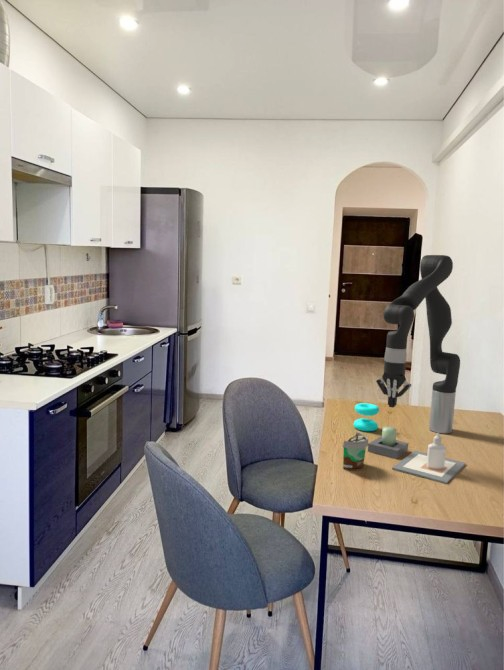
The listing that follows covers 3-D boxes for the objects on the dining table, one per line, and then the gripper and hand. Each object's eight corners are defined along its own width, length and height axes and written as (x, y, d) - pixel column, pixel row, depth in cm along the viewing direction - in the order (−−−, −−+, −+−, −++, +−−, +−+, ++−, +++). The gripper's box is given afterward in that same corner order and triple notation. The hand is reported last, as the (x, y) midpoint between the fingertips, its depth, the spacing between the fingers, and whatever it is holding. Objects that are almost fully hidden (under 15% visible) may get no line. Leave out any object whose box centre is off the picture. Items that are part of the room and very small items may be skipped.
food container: (359, 474, 171) (361, 445, 170) (341, 470, 174) (343, 441, 173) (371, 463, 182) (373, 435, 180) (354, 459, 185) (356, 431, 183)
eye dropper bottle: (442, 471, 175) (445, 436, 173) (425, 467, 177) (428, 433, 176) (444, 467, 178) (447, 433, 177) (427, 463, 181) (430, 430, 179)
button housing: (379, 443, 202) (380, 436, 202) (407, 450, 196) (408, 443, 195) (367, 451, 193) (368, 443, 193) (396, 458, 187) (397, 450, 186)
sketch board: (414, 452, 194) (414, 450, 194) (465, 464, 184) (465, 462, 184) (392, 469, 177) (392, 467, 177) (446, 483, 166) (446, 481, 166)
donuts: (384, 407, 217) (364, 409, 213) (382, 431, 218) (362, 433, 214) (369, 401, 226) (350, 403, 222) (368, 424, 227) (348, 426, 223)
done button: (384, 441, 197) (385, 425, 197) (397, 444, 195) (398, 428, 194) (379, 444, 193) (380, 428, 193) (392, 447, 191) (393, 431, 190)
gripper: (416, 361, 189) (413, 408, 191) (382, 356, 197) (378, 401, 199) (409, 364, 183) (405, 412, 185) (373, 359, 190) (370, 405, 193)
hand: (391, 406), depth 192 cm, fingers closed
